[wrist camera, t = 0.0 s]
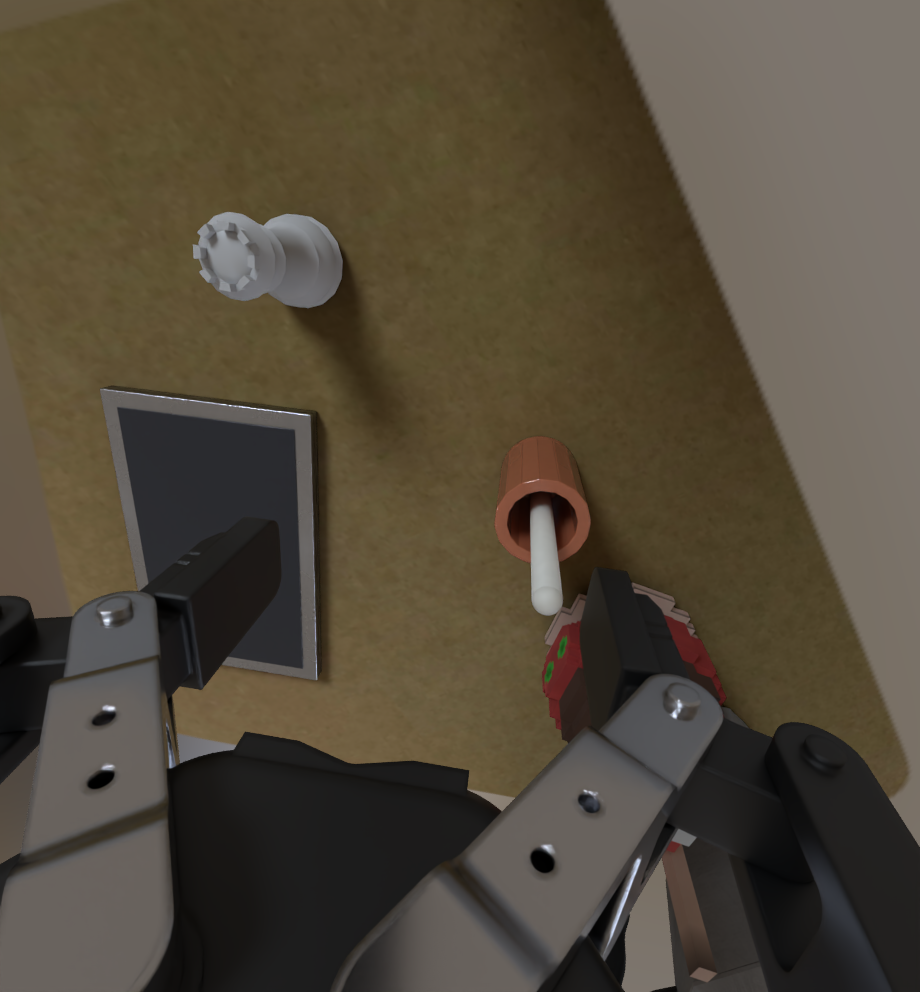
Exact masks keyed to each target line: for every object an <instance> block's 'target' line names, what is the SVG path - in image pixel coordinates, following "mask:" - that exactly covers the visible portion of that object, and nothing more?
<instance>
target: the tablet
mask: <svg viewBox="0 0 920 992" xmlns="http://www.w3.org/2000/svg"><path fill="white" fill-rule="evenodd" d="M100 392H101V398H102V403H103V408H104V413H105V419H106V424H107V429H108V435H109V440H110V445H111V450H112V456H113V461H114V466H115V472H116V477H117V482H118V487H119V493H120V498H121V503H122V508H123V514H124V519H125V524H126V530H127V535H128V540H129V545H130V551H131V556H132V561H133V567H134V572H135V577H136V582H137V588H138V591H140V590H141V589H142V588H144V587H145V586H146V585H147V584H149V583H150V582H151V581H152V580H154V579H155V578H156V577H157V576H159V575H160V574H161V573H162V572H163V571H165V570H166V569H167V568H168V567H170V566H171V565H172V564H173V563H176V562H177V560H178V559H180V558H181V557H182V556H183V555H185V554H188V551H190V550H191V549H192V548H193V547H194V546H196V545H197V544H198V543H199V542H201V541H202V540H204V539H207V538H209V537H211V536H214V535H216V534H218V533H221V532H224V533H225V532H227V531H228V530H229V529H230V528H231V527H233V526H234V525H235V524H236V523H237V522H238V521H240V520H241V519H242V518H244V517H254V518H261V519H268V520H274V521H276V522H277V524H278V526H279V535H280V554H281V582H280V586H279V589H278V592H277V594H276V596H275V597H274V599H273V600H272V601H271V603H270V604H269V605H268V606H267V608H266V609H265V610H264V611H263V613H262V614H261V615H260V617H259V618H258V619H257V620H256V622H255V623H254V624H253V625H252V627H251V628H250V629H249V630H248V632H247V633H246V634H245V636H244V637H243V638H242V639H241V641H240V642H239V643H238V644H237V646H236V647H235V648H234V649H233V651H232V652H231V653H230V655H229V656H228V657H227V658H226V660H225V661H224V662H223V663H222V665H226V666H232V667H238V668H245V669H251V670H257V671H263V672H269V673H275V674H281V675H287V676H293V677H299V678H305V679H311V680H317V679H318V677H319V675H320V673H321V671H322V668H321V614H320V560H319V506H318V452H317V412H316V411H310V410H302V409H294V408H287V407H279V406H271V405H263V404H255V403H247V402H239V401H231V400H223V399H215V398H207V397H199V396H191V395H183V394H175V393H167V392H159V391H151V390H143V389H135V388H127V387H120V386H108V387H104V388H101V389H100Z"/></svg>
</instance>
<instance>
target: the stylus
mask: <svg viewBox="0 0 920 992" xmlns="http://www.w3.org/2000/svg"><path fill="white" fill-rule="evenodd" d="M530 537H531V590H532V604H533V606H534V608H535V610H536V611H537V612H539V613H540V614H543V615H553V614H555V613H557V612H558V611H559V610H560V609H561V607H562V604H563V595H562V586H561V578H560V569H559V560H558V552H557V543H556V535H555V526H554V518H553V509H552V500H551V492H544V491H538V492H534V493H530Z"/></svg>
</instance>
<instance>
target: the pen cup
mask: <svg viewBox="0 0 920 992" xmlns="http://www.w3.org/2000/svg"><path fill="white" fill-rule="evenodd" d="M538 491H544V492H551V500H552V509H553V518H554V526H555V535H556V543H557V552H558V560H559V562H561V561H564V560H565V559H567V558H568V557H570V556H572V555H573V554H575V553H576V552H577V551H578V550H579V549H580V548H581V546H582V545H583V544H584V542H585V541H586V539H587V537H588V534H589V530H590V525H591V518H590V513H589V509H588V505H587V501H586V498H585V494H584V490H583V487H582V483H581V479H580V476H579V472H578V468H577V465H576V461H575V459H574V457H573V455H572V453H571V452H570V450H569V449H568V448H567V447H566V446H565V445H564V444H562V443H561V442H559V441H557V440H555V439H553V438H549V437H543V436H536V437H530V438H527V439H524V440H522V441H520V442H518V443H517V444H515V445H514V446H513V447H512V448H511V449H510V450H509V451H508V453H507V454H506V456H505V458H504V460H503V463H502V469H501V476H500V484H499V492H498V500H497V507H496V515H495V523H494V524H495V529H496V532H497V536H498V539H499V541H500V543H501V544H502V545H503V546H504V547H505V548H506V550H507V551H508V552H509V553H510V554H512V555H513V556H515V557H517V558H519V559H521V560H523V561H524V562H527V563H531V537H530V493H534V492H538Z"/></svg>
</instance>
